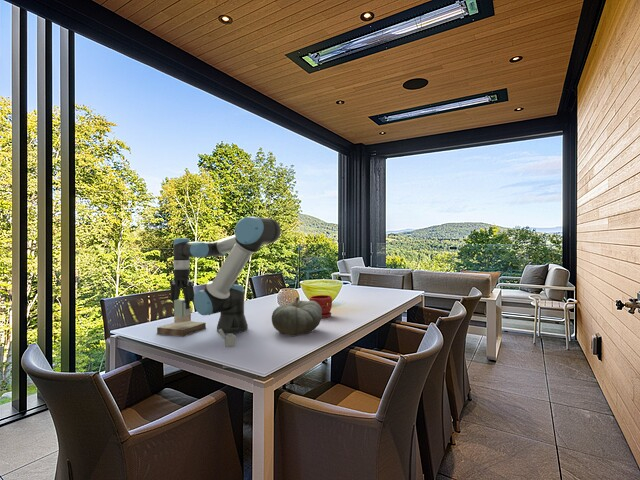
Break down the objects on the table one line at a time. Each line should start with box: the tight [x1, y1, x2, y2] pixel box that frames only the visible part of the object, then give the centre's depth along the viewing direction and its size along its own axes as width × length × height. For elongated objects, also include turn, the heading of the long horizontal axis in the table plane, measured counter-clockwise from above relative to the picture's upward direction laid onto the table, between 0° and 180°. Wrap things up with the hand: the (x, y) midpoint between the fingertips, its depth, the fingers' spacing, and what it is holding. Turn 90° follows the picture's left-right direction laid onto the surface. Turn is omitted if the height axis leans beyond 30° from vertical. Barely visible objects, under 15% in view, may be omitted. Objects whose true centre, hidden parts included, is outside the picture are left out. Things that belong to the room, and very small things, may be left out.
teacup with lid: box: [173, 304, 192, 323], centre depth 194 cm, size 12×9×12 cm
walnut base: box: [156, 320, 207, 337], centre depth 173 cm, size 16×16×3 cm
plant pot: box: [309, 294, 333, 319], centre depth 204 cm, size 13×13×12 cm
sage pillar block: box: [173, 298, 188, 317], centre depth 173 cm, size 5×5×8 cm
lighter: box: [218, 328, 237, 349], centre depth 146 cm, size 7×2×8 cm, turn 122°
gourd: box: [271, 297, 323, 337], centre depth 168 cm, size 25×25×17 cm
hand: (181, 314), depth 173 cm, fingers closed on sage pillar block, 5 cm apart
